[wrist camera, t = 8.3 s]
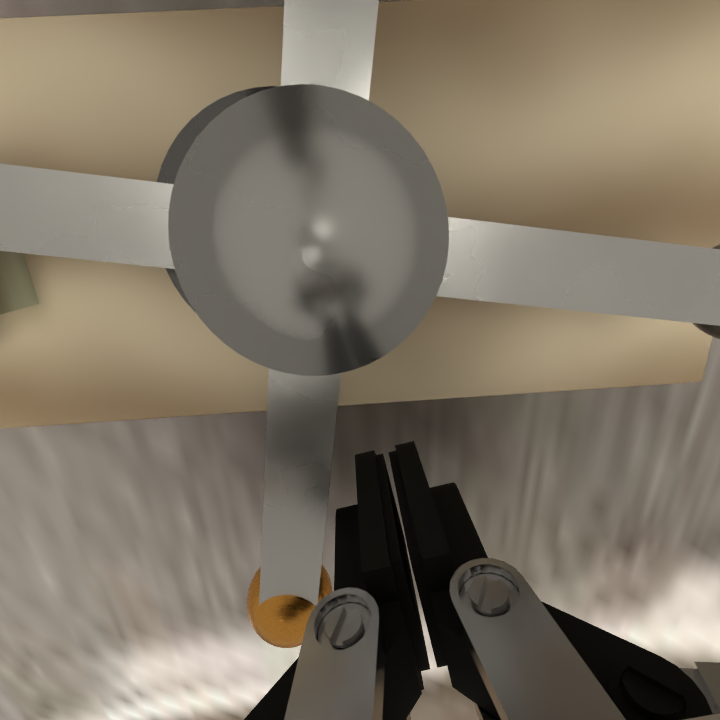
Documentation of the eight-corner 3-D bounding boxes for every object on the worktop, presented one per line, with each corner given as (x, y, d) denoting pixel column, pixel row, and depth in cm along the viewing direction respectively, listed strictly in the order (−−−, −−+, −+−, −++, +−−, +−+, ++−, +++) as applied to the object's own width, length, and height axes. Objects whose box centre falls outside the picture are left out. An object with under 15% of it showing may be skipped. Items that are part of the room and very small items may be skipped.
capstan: (811, -182, 9) (1404, -691, 4) (568, 541, 15) (680, 699, 10) (-171, -386, 8) (-1209, -1619, 3) (5, 508, 14) (-188, 673, 9)
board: (-152, 48, 11) (-431, -51, 7) (750, 6, 12) (963, -107, 8) (-11, 414, 15) (-144, 487, 11) (675, 369, 15) (793, 422, 11)
